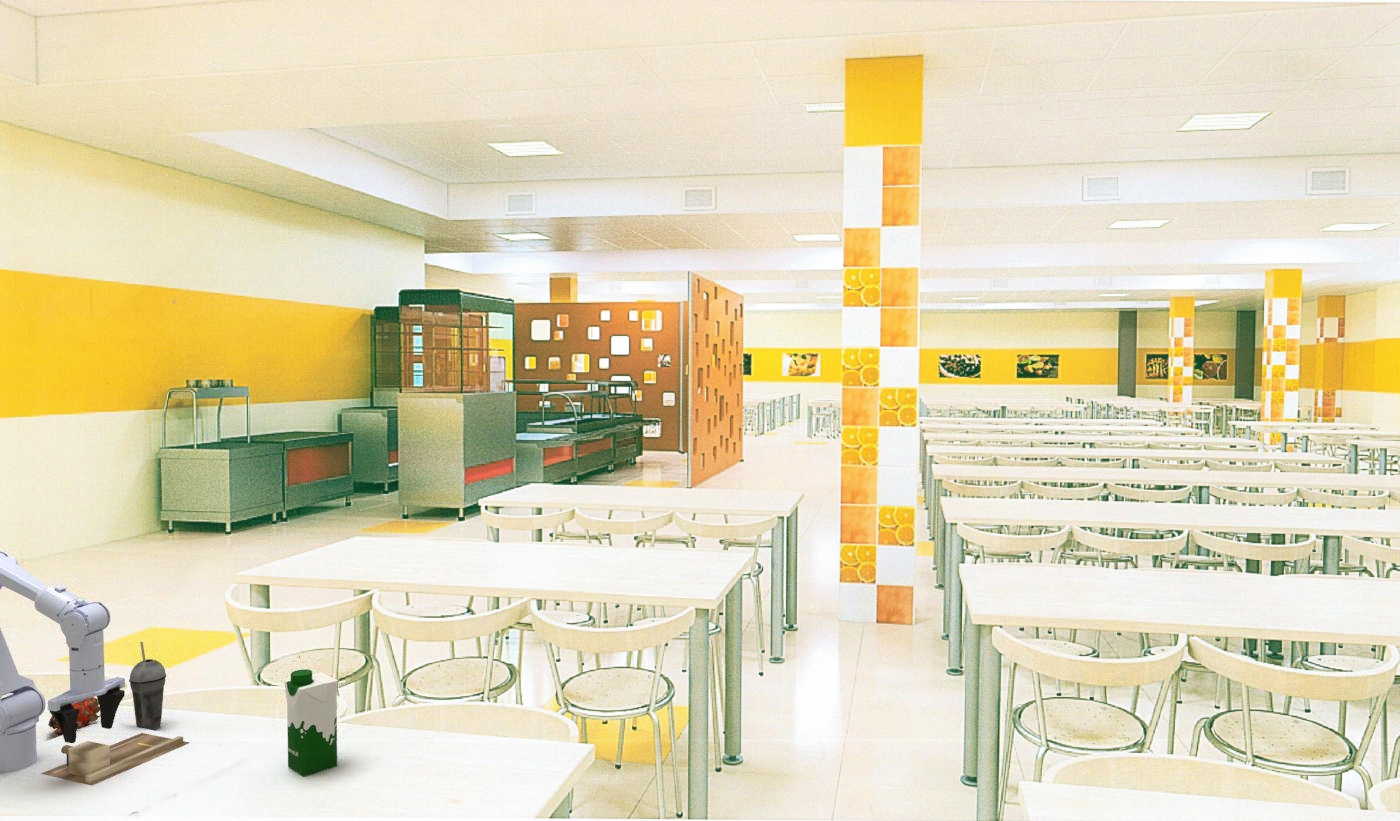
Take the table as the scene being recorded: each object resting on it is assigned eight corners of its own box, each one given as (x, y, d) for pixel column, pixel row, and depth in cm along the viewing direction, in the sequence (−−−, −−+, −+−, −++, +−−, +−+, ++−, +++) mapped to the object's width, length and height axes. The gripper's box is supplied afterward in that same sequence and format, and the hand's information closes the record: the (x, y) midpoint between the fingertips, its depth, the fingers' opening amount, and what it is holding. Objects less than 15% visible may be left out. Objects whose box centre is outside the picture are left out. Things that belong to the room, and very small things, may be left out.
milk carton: (281, 766, 196) (280, 670, 195) (324, 753, 203) (323, 660, 202) (300, 779, 190) (299, 680, 189) (344, 765, 197) (343, 669, 196)
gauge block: (55, 770, 190) (55, 745, 190) (75, 762, 194) (74, 737, 193) (91, 778, 186) (90, 752, 186) (110, 770, 190) (109, 745, 190)
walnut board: (41, 780, 188) (41, 767, 188) (142, 739, 209) (141, 727, 209) (92, 792, 184) (92, 778, 183) (190, 749, 204) (190, 736, 204)
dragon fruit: (104, 726, 220) (56, 754, 209) (78, 703, 221) (28, 729, 210) (117, 701, 217) (68, 728, 206) (90, 677, 218) (40, 703, 207)
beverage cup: (174, 726, 216) (172, 639, 215) (140, 737, 210) (138, 647, 209) (156, 719, 220) (154, 633, 219) (123, 730, 214) (121, 641, 213)
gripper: (65, 680, 180) (67, 751, 181) (135, 658, 193) (137, 724, 194) (39, 675, 182) (41, 745, 183) (110, 653, 196) (111, 719, 197)
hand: (88, 734), depth 189 cm, fingers open, 7 cm apart
